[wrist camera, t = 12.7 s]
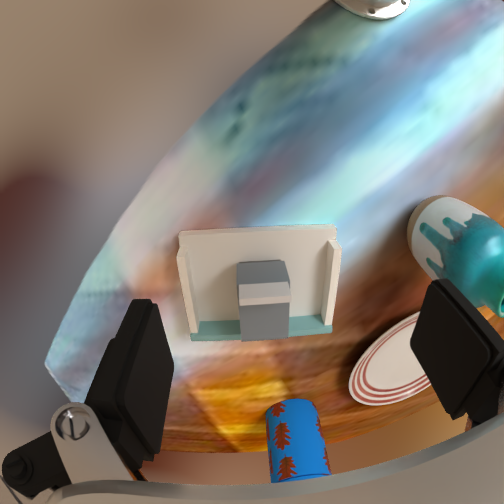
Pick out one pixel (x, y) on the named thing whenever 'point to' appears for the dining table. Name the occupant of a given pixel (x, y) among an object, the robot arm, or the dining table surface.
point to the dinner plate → (389, 368)
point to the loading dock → (258, 249)
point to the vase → (460, 249)
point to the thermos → (295, 442)
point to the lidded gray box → (263, 299)
